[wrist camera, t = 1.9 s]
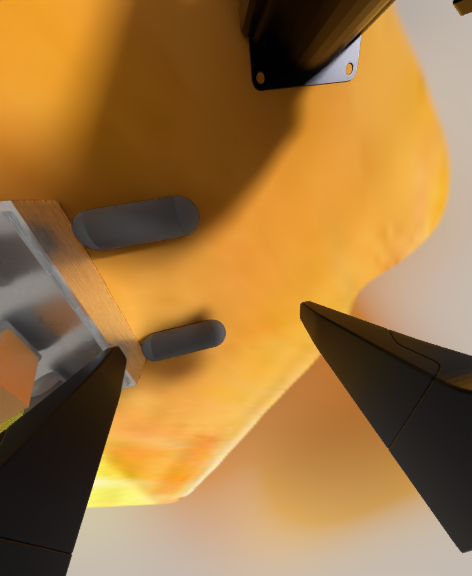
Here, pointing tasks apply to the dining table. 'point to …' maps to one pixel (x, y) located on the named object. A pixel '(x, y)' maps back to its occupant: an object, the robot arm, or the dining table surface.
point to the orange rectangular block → (15, 371)
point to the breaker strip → (58, 292)
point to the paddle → (44, 388)
